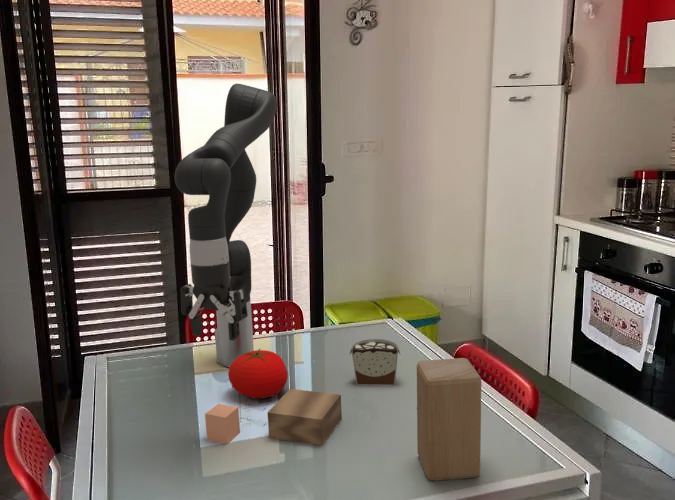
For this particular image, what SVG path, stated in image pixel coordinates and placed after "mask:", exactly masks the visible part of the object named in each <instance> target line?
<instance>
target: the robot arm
mask: <svg viewBox="0 0 675 500" xmlns="http://www.w3.org/2000/svg"><path fill="white" fill-rule="evenodd" d="M277 103H278V102H277V98H276V95H275V94H274V93H273V92H271V91H269V90H265V89H261V88H258V87H254V86H249V85H246V84H243V83H233V84H232V85H231V87H230V88H229V90H228V93H227V96H226V101H225V106H224V107H225V108H224V124H223V126H221V127H220V128H218V129H217V130H215V132H213V134H212V135H211V136H210V137H209V138H208V139H207V141H205V143H204V144H203V146H200V147H198V148H197V149H195V150H194V151H191V152H190V153H188V154H186V155H185V156H184V157H183V158H182V159H181V160H180V161H179V163H178V164H177V166H176V168H175V172H174V183H175V186H176V188H177V189H178V190H179V192H181V193H182V194H185V195H187V196H209V197H208V201H207V203H206V205H203V206H202V205H201V206H198V207H194V208H192V209H191V210H189V212H188V214H187V215H188V216H187V220H188V233H189V234H188V235H189V260H190V270H191V271H190V272H191V282H192V284H193V285H192V284H191V283H188V284H186V285H184V286H181V287H180V288H179V289H180V290H179V292H180V311H181V312H180V313H181V315H183V316H186V317H189V319H190V327H191V328H190V329H191V332H192V334H193V336H195V337H199V336H200V335H202V334H203V322H202V321H203V320H202V315H201V314H202V312H203V310H206V311H207V310H213V311H215V312H216V323H217V328H215V329H214V339H215V349H216V350H215V351H216V363H217V364H220V365H222V366H223V367H227V368H229V367H230V365H231V364H232V362H233V361H234V360H235V359H236V358H237V357H239V356H241V355H243V353H248V352H251V351H255V349H254V348H255V347H254V334H253V333H254V332H253V317H252V304H251V301H252V300H251V292H252V257H251V251H250V249H249V247H248V244H247V243H246V242H245V241H244V240H242V239H241V240H240V239H236V240H231V238H232V235H233V233H234V231H235V229H236V228H237V227H238V226H239V224H240V223H241V222H242V220H244V218H245V216H246V215H247V214H248V212H249V211H250V209H251V207H252V206H253V203H254V199H255V192H256V188H257V174H256V171H255V169H254V167H253V166H254V165H253V164H252V162H251V160H250V159H251V158H250V157H249V155H248V152H247V151H246V149H247V147H248V146H250V145H252V144H253V142H255V141H256V140H257V139H258V138H260V137H261V136H262V135H263V134H264V133H266V132H267V130H268V129H269V128H271V125H272V124H273V122H274V119H275V116H276V112H277V105H278V104H277ZM193 296H194V297H193ZM194 298H195V299H196V300H195V302H194V301H193V299H194Z"/></svg>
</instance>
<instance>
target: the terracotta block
mask: <svg viewBox="0 0 675 500" xmlns="http://www.w3.org/2000/svg"><path fill="white" fill-rule="evenodd" d="M204 419H205V430H206V441H210V442H215V443H221V444H226V445H228V444H230V443H231V442H232V440H234V439H235V438H236V437H237V436H239V435H240V434H241V427H240V423H241V422H240V411H239V406H235V405H230V404H229V405H228V404H223V403H217V404H216V405H214V406H213V407H212V408H211V409H209V410H208V411H207V412H205V413H204Z"/></svg>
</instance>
